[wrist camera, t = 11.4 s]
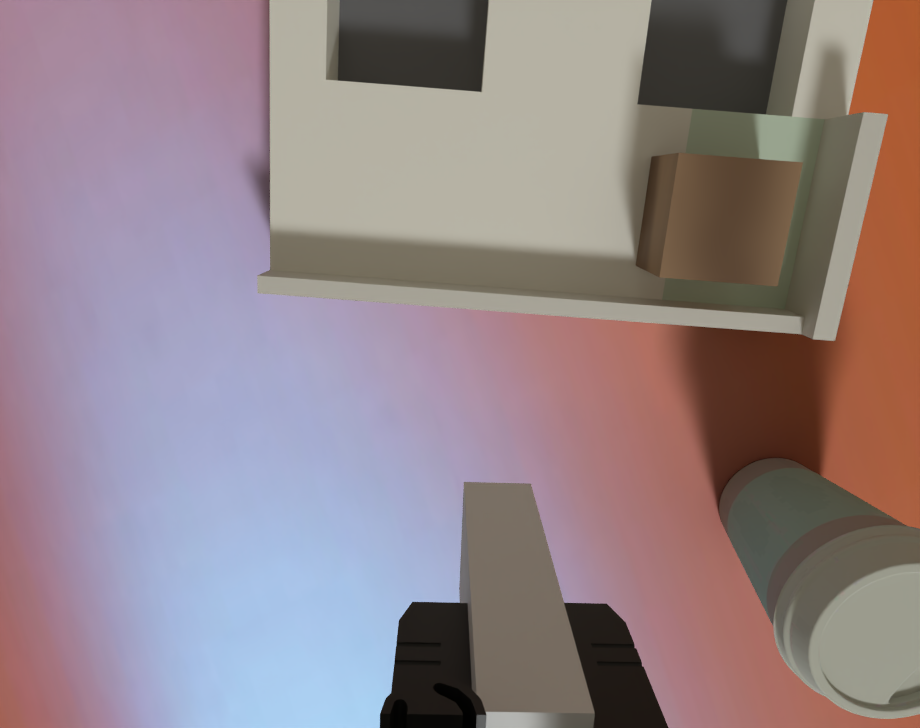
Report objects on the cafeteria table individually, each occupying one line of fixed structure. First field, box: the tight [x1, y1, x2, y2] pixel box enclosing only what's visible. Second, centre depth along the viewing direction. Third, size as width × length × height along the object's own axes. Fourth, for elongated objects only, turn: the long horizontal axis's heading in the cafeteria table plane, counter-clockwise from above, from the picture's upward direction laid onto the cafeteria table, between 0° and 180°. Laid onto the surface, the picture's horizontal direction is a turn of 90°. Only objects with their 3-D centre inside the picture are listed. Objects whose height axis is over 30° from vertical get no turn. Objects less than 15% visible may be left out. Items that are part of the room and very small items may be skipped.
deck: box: [258, 0, 888, 341], centre depth 29 cm, size 26×18×6 cm
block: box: [636, 153, 803, 286], centre depth 29 cm, size 5×5×4 cm
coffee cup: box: [719, 458, 920, 719], centre depth 32 cm, size 8×8×12 cm
